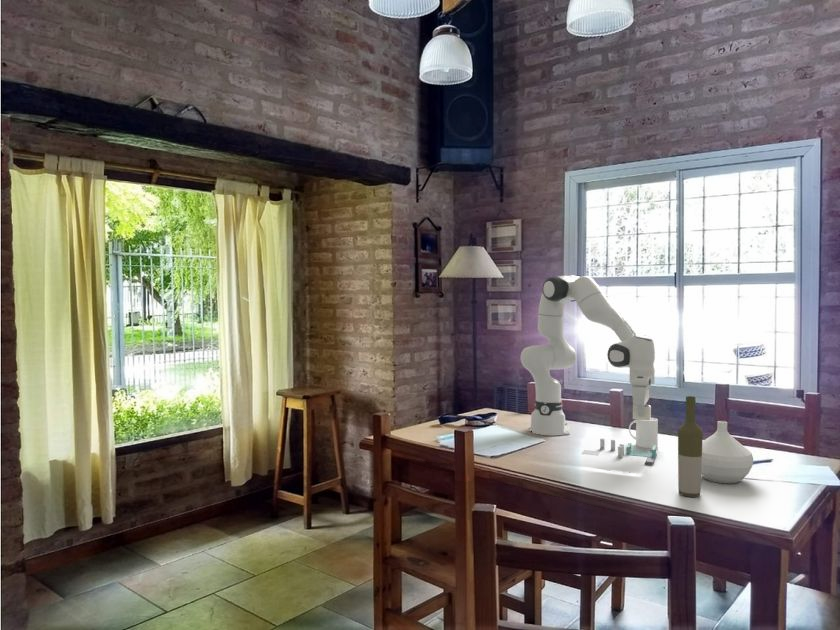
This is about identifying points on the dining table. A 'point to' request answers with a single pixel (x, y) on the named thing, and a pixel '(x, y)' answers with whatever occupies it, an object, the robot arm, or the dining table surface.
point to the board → (620, 451)
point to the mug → (646, 433)
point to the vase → (724, 457)
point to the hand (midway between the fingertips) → (641, 415)
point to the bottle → (690, 453)
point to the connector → (645, 413)
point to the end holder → (639, 453)
